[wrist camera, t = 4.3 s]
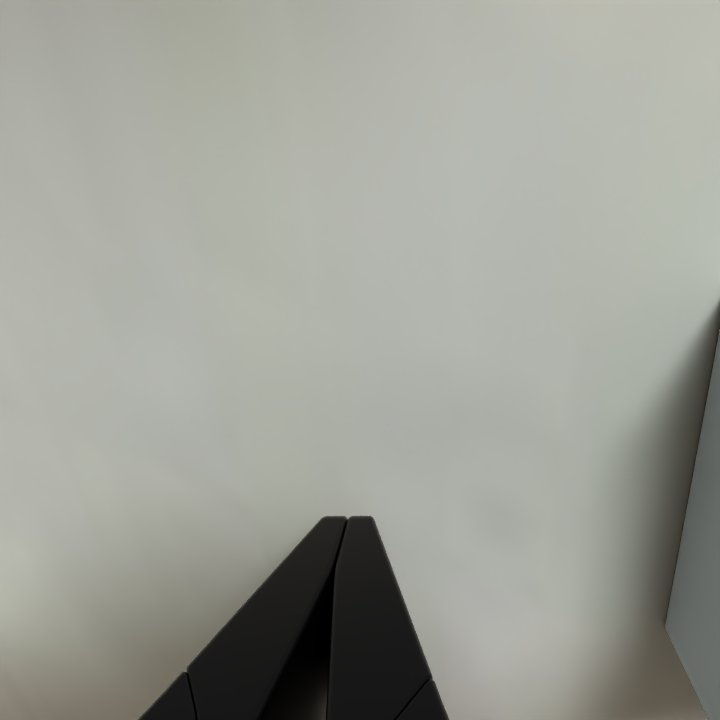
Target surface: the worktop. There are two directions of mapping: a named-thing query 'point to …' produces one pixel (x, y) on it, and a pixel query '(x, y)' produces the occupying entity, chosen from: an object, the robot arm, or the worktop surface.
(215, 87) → the worktop surface
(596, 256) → the worktop surface
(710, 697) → the pale blue eraser
